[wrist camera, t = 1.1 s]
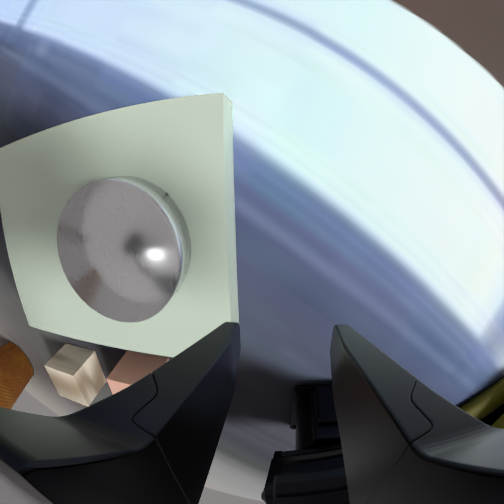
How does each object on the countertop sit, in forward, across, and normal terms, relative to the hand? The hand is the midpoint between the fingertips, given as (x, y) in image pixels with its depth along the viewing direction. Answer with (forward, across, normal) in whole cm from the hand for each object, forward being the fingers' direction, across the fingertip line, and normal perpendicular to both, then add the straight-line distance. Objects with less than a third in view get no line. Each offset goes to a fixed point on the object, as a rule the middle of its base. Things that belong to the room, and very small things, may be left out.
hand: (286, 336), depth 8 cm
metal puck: (+9, +10, 0) cm, 14 cm away
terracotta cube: (+12, +12, +14) cm, 22 cm away
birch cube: (+12, +22, +15) cm, 29 cm away
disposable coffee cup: (+12, +38, +19) cm, 44 cm away
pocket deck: (+12, +14, 0) cm, 19 cm away
